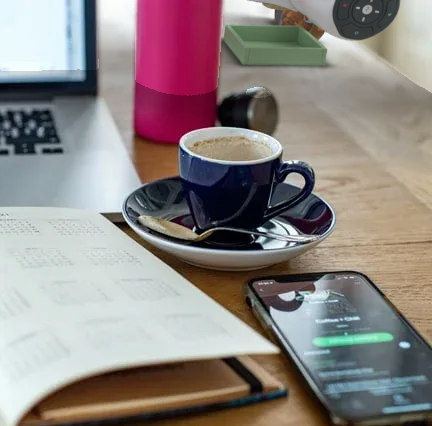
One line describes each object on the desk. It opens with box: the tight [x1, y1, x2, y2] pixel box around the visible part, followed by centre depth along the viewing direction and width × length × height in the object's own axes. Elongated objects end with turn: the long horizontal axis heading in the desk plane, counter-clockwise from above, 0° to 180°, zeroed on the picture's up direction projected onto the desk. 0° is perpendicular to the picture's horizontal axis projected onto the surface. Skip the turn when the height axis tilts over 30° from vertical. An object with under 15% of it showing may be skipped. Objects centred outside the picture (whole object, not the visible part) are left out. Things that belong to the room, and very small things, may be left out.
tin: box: [273, 9, 326, 41], centre depth 129 cm, size 15×3×8 cm, turn 10°
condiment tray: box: [223, 24, 328, 67], centre depth 121 cm, size 11×11×3 cm
